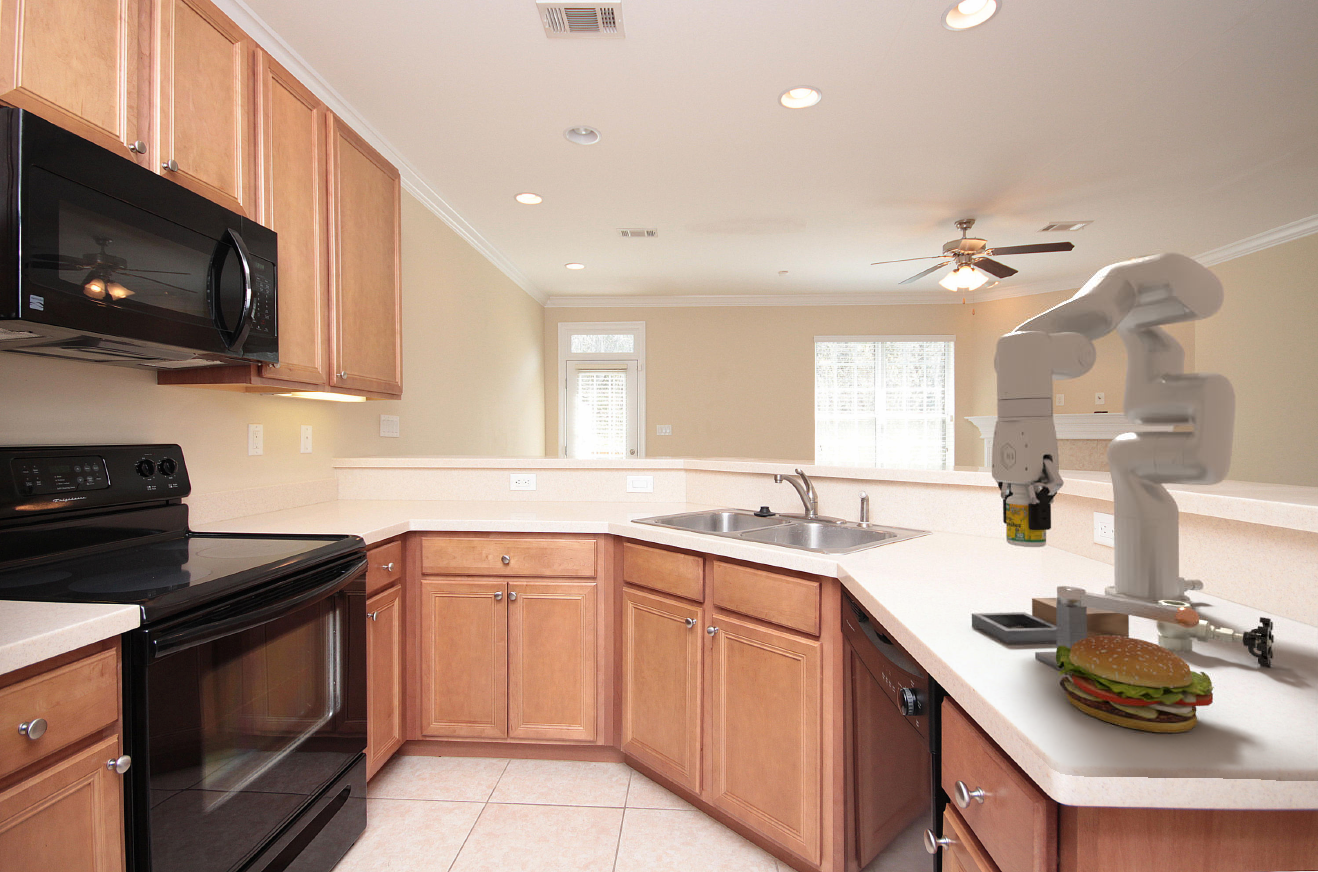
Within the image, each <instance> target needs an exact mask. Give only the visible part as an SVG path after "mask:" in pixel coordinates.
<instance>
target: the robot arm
mask: <svg viewBox="0 0 1318 872" xmlns="http://www.w3.org/2000/svg"><path fill="white" fill-rule="evenodd" d="M1224 299H1225V291H1224V286H1223V283H1222V282H1221V280H1220V278H1219V277H1218V276H1217V275H1216V274H1215V273H1214V272H1213V271H1211V270H1210V269H1208V268H1207V267H1205V266H1204V265H1202V264H1201V263H1199V262H1197V261H1196V260H1194V258H1191V257H1189V256H1187V255H1184V254H1181V253H1178V252H1170V251H1169V252H1161V253H1158V254H1153V255H1147V256H1144V257H1139V258H1134V259H1130V260H1124V261H1121V262H1117V263H1113V264H1110V265H1108V266H1105V267H1104V268H1102V269H1101V270H1099V271H1098V272H1097V273H1096V274H1095V275H1093V276H1092V277H1091V279H1089V280H1088V282H1087V283H1086V284H1084V286H1083V287H1081V289H1079V291H1078V292H1077V293H1075V294H1074V295H1073V297H1072V298H1070V299H1069V300H1067V301H1064V302H1062V303H1060V304H1058V305H1056V306H1055V307H1053V308H1051V309H1049V310H1047V311H1044V312H1043V313H1041V314H1039V315H1037V316H1035V317H1032V318H1031V319H1028V320H1026V321H1025V322H1024V323H1022V324H1020V325H1019V326H1017V327H1016V328H1015V329H1014V330H1012V332H1010V333H1007V334H1004V335H1002V336H1000V337H999V338H998V340H997V341H996V345H995V346H996V350H995V353H994V358H993V368H994V371H995V373H996V404H997V405H996V408H997V409H996V411H997V413H996V414H997V415H996V416H997V418H996V419H997V420H996V422H995V425H994V430H993V431H994V432H993V437H992V438H993V439H992V449H991V450H992V451H991V477H992V478H993V479H994V481H995V482H996V483H997V486H998V489H999V490H1000V498H1001V499H1002V517H1003V518H1002V520H1003V523H1004V524H1005V525H1006V500H1007V498H1008V497H1009V496H1012V495H1013V492H1011V483H1014V484H1023V485H1028V489H1029V493H1030V498H1031V502H1032V503H1029V504H1028V522H1029V529H1030V530H1046V531H1049V530H1051V529H1052V504H1053V503H1054V501H1055V500H1054V498H1055V497H1056V495H1057V493H1058V491H1059V490H1061V488H1063V486H1064V480H1063V478H1062V477H1061V475H1060V473H1059V472H1060V461H1059V460H1060V459H1059V458H1060V457H1059V445H1058V439H1057V438H1058V437H1057V431H1056V425H1055V422H1054V391H1053V390H1054V389H1053V388H1054V387H1053V386H1054V385H1053V384H1054V383H1053V381H1064V380H1065V381H1066V380H1073V379H1077V378H1080V377H1082V376H1085V375H1086V374H1087V373H1089V372H1090V371H1091V369H1092V368H1093V367H1094V365H1095V362H1096V360H1097V351H1096V347H1095V344H1094V343H1093V341H1097V340H1099V339H1101V338H1104V337H1106V336H1107V335H1109V334H1111V333H1112V332H1113V331H1114V330H1115V331H1116V334H1117V335H1118V336H1119V338H1120V340H1121V341H1122V343H1123V346H1124V348H1125V351H1126V355H1127V361H1126V363H1127V364H1126V371H1125V381H1124V390H1123V401H1122V411H1123V416H1124V418H1125V419H1126V421H1128V422H1129V423H1131V424H1134V425H1138V426H1146V427H1147V426H1149V427H1164V426H1165V427H1166V426H1167V427H1169V426H1171V427H1172V426H1175V427H1176V426H1177V427H1178V426H1180V427H1181V426H1192V427H1193V430H1192V431H1168V430H1167V431H1163V430H1162V431H1161V430H1160V431H1133V432H1126V433H1122V434H1120V435H1117V436H1116V437H1114V438H1113V439H1112V440H1111V441H1110V442H1109V445H1108V447H1107V451H1106V456H1107V464H1108V469H1109V473H1110V477H1111V482H1112V483H1111V484H1112V491H1113V548H1114V549H1113V551H1114V556H1113V557H1114V564H1113V565H1114V569H1113V571H1114V578H1113V579H1114V585H1109V586H1106V587H1105V588H1104V595H1107V596H1112V597H1118V598H1124V599H1129V600H1135V601H1141V602H1147V603H1152V604H1158V601H1161V600H1172V601H1179V602H1184V603H1187V604H1189V605H1190V606H1191V605H1192V604H1191V603H1192V602H1191V601H1192V599H1191V598H1190V597H1189V596H1188V595H1186V594H1185V593H1186V592H1188V590H1189V591H1201V590H1203V588H1204V584H1203V581H1201V580H1200V579H1185V577H1182V576H1180V551H1179V550H1180V548H1179V547H1180V546H1179V545H1180V544H1179V542H1180V541H1179V539H1180V538H1179V537H1180V533H1179V531H1180V530H1179V525H1180V524H1179V523H1180V521H1179V520H1180V518H1179V517H1180V516H1179V515H1180V514H1179V513H1180V511H1179V507H1178V504H1177V502H1176V501H1175V499H1174V497H1173V496H1172V495H1171V494H1170V492H1169V491H1168V490H1167V489H1166V488H1165V486H1164V485H1165V484H1171V485H1172V484H1173V485H1174V484H1175V485H1189V486H1190V485H1191V486H1197V485H1198V486H1201V485H1202V486H1212V485H1218V484H1220V483H1221V482H1223V481H1224V480H1225V479H1226V478H1227V476H1228V474H1229V472H1230V469H1231V468H1230V467H1231V461H1232V452H1233V441H1234V431H1235V418H1236V394H1235V388H1234V387H1233V384H1232V382H1231V381H1230V380H1229V379H1228V377H1226V376H1225V375H1224V374H1221V373H1217V372H1211V371H1210V372H1208V371H1207V372H1206V371H1204V372H1191V373H1185V372H1184V366H1185V356H1186V354H1185V349H1184V347H1183V346H1182V345H1181V343H1180V342H1179V341H1178V340H1177V339H1176V338H1175V337H1174V336H1172V335H1171V333H1169V332H1168V331H1166V330H1165V329H1164V328H1162V327H1161V326H1166V325H1173V324H1180V323H1187V322H1195V321H1202V320H1205V319H1208V318H1211V317H1213V316H1214V315H1216V314H1217V313H1218V312H1219V310H1220V309H1221V308H1222V306H1223V303H1224ZM1037 488H1041V490H1040V491H1039V493H1038V491H1037Z"/></svg>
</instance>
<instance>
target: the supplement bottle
mask: <svg viewBox="0 0 1318 872" xmlns="http://www.w3.org/2000/svg"><path fill="white" fill-rule="evenodd" d="M1041 489H1042V488H1037V491H1038V493H1039V491H1040V490H1041ZM1011 492H1013V495H1012V496H1009V497H1008V498H1007V500H1006V524H1005V526H1006V530H1005V531H1006V533H1005V534H1006V539H1005V540H1006V543H1007V544H1009V545H1011V546H1016V547H1024V548H1043V547H1045V546H1046V544H1047V530H1030V529H1029V522H1028V504H1029V503H1032V502H1031V498H1030V493H1029V489H1028V485H1023V484H1014V483H1011Z"/></svg>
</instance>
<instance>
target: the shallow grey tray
mask: <svg viewBox="0 0 1318 872" xmlns="http://www.w3.org/2000/svg"><path fill="white" fill-rule="evenodd" d="M971 626H972V627H974V628H975V629H977V630H979V631H981V632H983V633H985V634H986V635H989V636H990V637H992V638H994V639H996V640H998V641H1000V642H1001V643H1003V644H1004V645H1007V646H1008V645H1037V644H1039V645H1040V644H1042V645H1043V644H1044V645H1045V644H1057V626H1055V625H1053V624H1051V623H1048V622H1046V621H1044V620H1041V619H1039V618H1037V617H1034V616H1032V614H1029V613H1027V612H1025V611H1022V612H1021V611H1020V612H982V613H981V612H980V613H979V612H978V613H971ZM1011 627H1012V628H1011ZM1013 627H1016V628H1013ZM1017 627H1022V628H1017Z"/></svg>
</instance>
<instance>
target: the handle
mask: <svg viewBox="0 0 1318 872" xmlns="http://www.w3.org/2000/svg"><path fill="white" fill-rule="evenodd" d="M1056 598H1057V603H1058V604H1061V605H1064V606H1070V607H1090V608H1095V609H1100V610H1105V611H1111V612H1116V613H1121V614H1126V615H1129V616H1133V617H1138V618H1143V619H1147V620H1153V621H1156V620H1158V621H1163V622H1168V623H1173V624H1178V625H1179V626H1181V627H1184V628H1193V627H1196V626H1197V625H1198V624H1199V621H1200V620H1201V619H1200V616H1199V614H1198V612H1197V611H1195V610H1194V609H1190V608H1187V607H1181V608H1175V607H1169V606H1164V605H1158V604H1152V603H1147V602H1141V601H1135V600H1129V599H1124V598H1118V597H1112V596H1107V595H1105V594H1101V593H1095V592H1089V591H1087V590H1086V589H1084V588H1082V587H1075V586H1066V585H1062V586H1057V587H1056Z"/></svg>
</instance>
